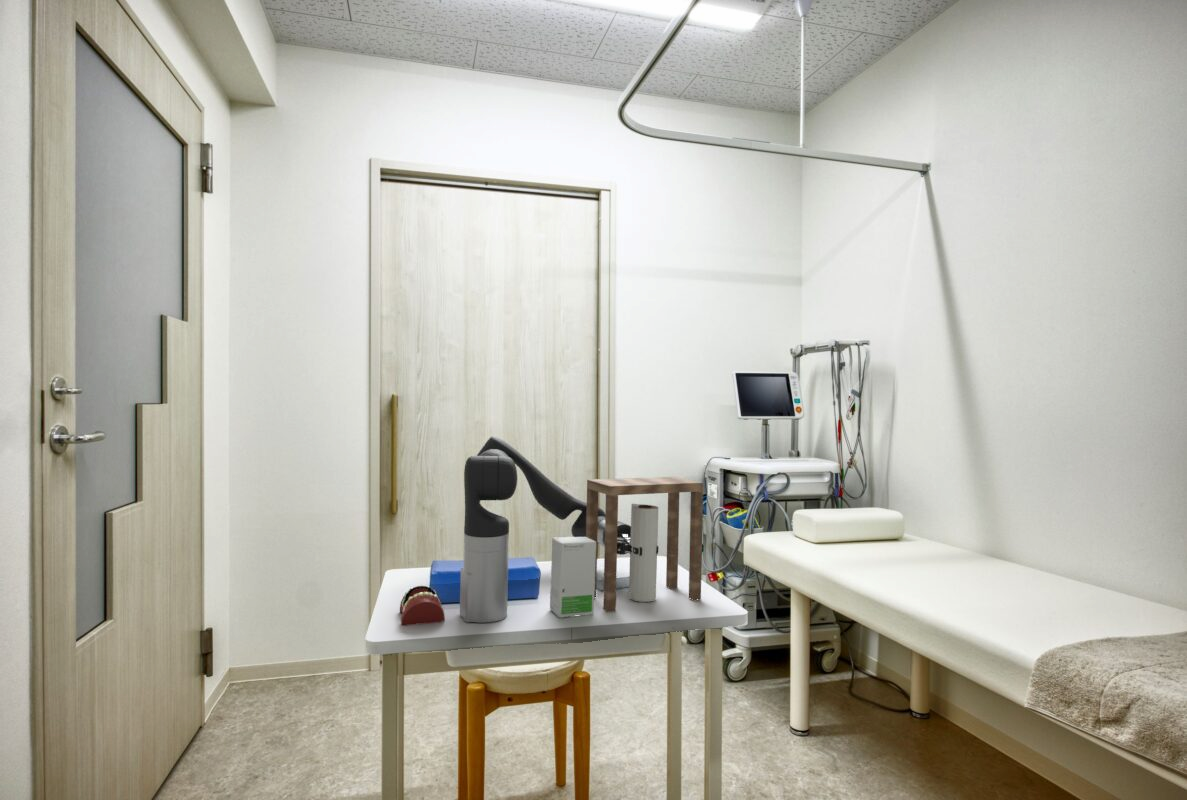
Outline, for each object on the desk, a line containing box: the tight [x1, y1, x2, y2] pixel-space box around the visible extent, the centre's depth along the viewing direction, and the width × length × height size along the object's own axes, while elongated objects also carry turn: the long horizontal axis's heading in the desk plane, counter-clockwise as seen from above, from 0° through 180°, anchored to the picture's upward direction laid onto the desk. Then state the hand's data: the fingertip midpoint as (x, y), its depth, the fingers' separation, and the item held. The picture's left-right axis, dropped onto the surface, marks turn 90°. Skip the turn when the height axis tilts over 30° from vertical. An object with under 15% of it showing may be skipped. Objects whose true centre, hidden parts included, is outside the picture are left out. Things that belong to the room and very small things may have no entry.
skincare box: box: [549, 536, 596, 618], centre depth 136 cm, size 8×7×16 cm
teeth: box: [399, 585, 446, 626], centre depth 130 cm, size 8×6×12 cm
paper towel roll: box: [628, 503, 659, 603], centre depth 146 cm, size 7×6×21 cm
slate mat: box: [596, 576, 629, 592], centre depth 157 cm, size 14×8×1 cm, turn 115°
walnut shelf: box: [586, 476, 704, 613], centre depth 146 cm, size 24×12×27 cm, turn 115°
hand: (648, 550), depth 144 cm, fingers closed on paper towel roll, 3 cm apart
